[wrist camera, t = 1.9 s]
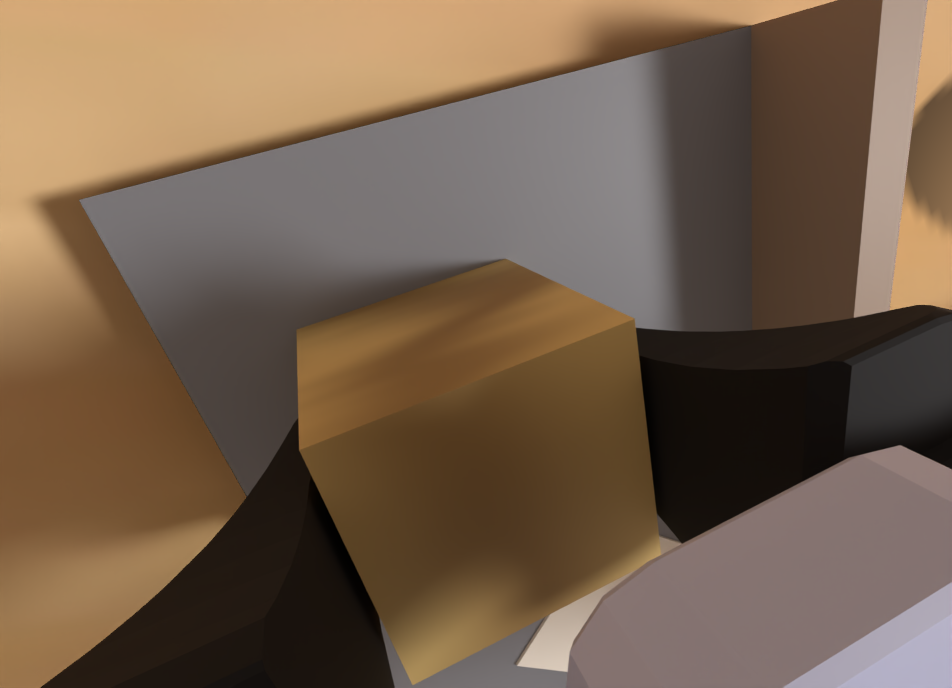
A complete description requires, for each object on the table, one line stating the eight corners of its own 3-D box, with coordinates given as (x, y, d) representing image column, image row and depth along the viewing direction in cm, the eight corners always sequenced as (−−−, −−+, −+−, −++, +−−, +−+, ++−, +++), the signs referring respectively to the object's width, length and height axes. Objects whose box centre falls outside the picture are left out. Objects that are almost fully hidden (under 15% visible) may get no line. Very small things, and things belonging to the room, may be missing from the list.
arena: (756, 25, 13) (930, -25, 9) (756, 620, 23) (840, 704, 19) (98, 196, 10) (-15, 217, 6) (432, 806, 20) (463, 950, 16)
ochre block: (505, 258, 12) (634, 318, 7) (543, 429, 14) (661, 556, 9) (296, 329, 11) (299, 450, 6) (371, 502, 13) (412, 685, 8)
